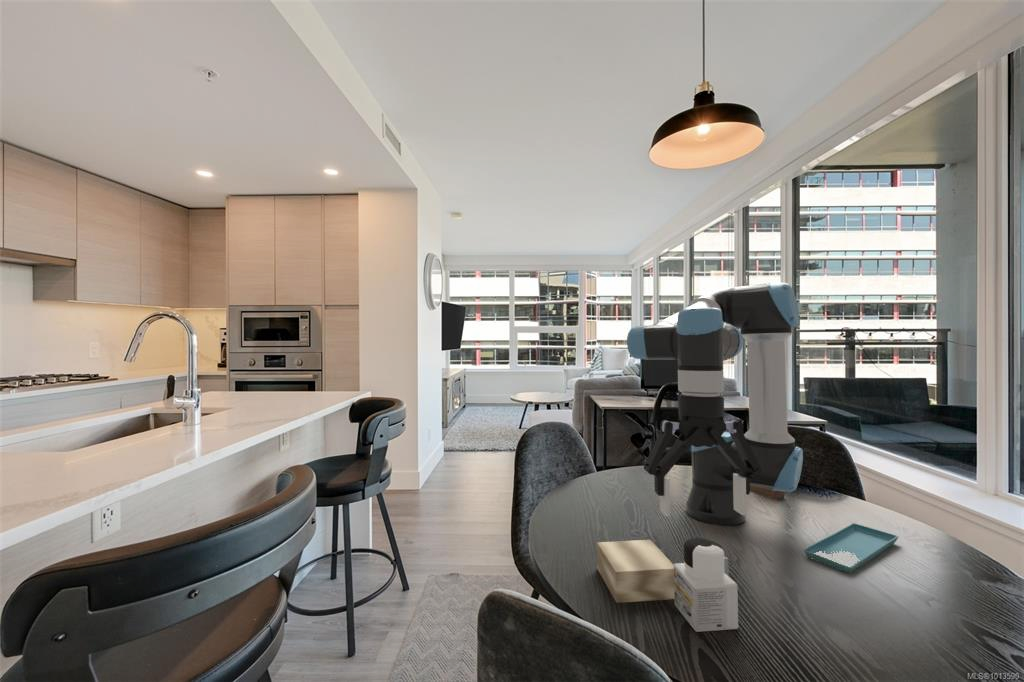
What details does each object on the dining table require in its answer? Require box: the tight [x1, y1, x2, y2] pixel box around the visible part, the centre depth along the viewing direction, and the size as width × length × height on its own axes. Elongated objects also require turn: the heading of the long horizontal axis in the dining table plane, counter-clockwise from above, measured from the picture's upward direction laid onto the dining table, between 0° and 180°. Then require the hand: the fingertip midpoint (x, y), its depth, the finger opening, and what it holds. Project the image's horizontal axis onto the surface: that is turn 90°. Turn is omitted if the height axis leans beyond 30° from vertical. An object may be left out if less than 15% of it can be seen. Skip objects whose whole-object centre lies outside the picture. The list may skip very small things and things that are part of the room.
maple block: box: [596, 539, 674, 604], centre depth 84 cm, size 12×12×6 cm
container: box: [673, 537, 739, 633], centre depth 73 cm, size 8×8×13 cm
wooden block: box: [750, 485, 785, 500], centre depth 133 cm, size 9×4×18 cm, turn 20°
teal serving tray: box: [803, 522, 899, 573], centre depth 96 cm, size 26×9×2 cm, turn 120°
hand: (702, 513), depth 73 cm, fingers open, 13 cm apart
